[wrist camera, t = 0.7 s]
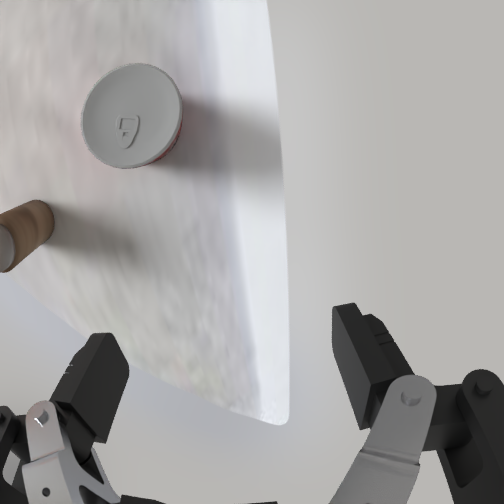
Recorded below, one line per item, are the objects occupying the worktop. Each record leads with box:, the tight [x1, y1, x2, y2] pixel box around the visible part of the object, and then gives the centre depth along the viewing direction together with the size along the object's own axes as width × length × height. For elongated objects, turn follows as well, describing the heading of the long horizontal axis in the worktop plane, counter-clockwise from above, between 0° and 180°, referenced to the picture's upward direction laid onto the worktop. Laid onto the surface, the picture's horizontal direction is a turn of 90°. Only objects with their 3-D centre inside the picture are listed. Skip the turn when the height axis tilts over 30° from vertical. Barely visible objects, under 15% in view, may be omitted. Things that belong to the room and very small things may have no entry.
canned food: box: [81, 63, 183, 169], centre depth 22 cm, size 8×8×11 cm
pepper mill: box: [0, 200, 54, 273], centre depth 22 cm, size 5×5×10 cm
